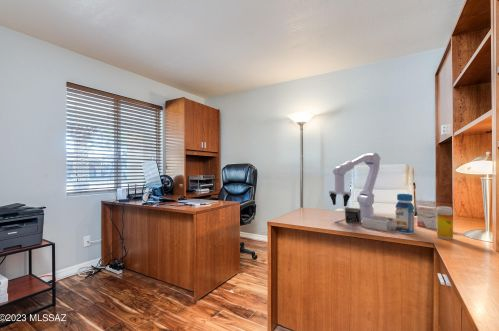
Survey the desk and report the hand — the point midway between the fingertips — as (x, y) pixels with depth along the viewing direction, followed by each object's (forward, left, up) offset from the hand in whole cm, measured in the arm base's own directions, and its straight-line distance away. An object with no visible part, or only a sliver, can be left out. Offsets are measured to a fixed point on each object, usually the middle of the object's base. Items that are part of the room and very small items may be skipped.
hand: (339, 205), depth 157 cm
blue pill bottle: (+2, +38, -10) cm, 39 cm away
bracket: (0, +24, -9) cm, 26 cm away
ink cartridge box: (-21, +42, -10) cm, 48 cm away
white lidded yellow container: (-1, +54, -10) cm, 55 cm away
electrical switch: (0, +9, -10) cm, 13 cm away
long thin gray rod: (0, +2, -9) cm, 10 cm away
